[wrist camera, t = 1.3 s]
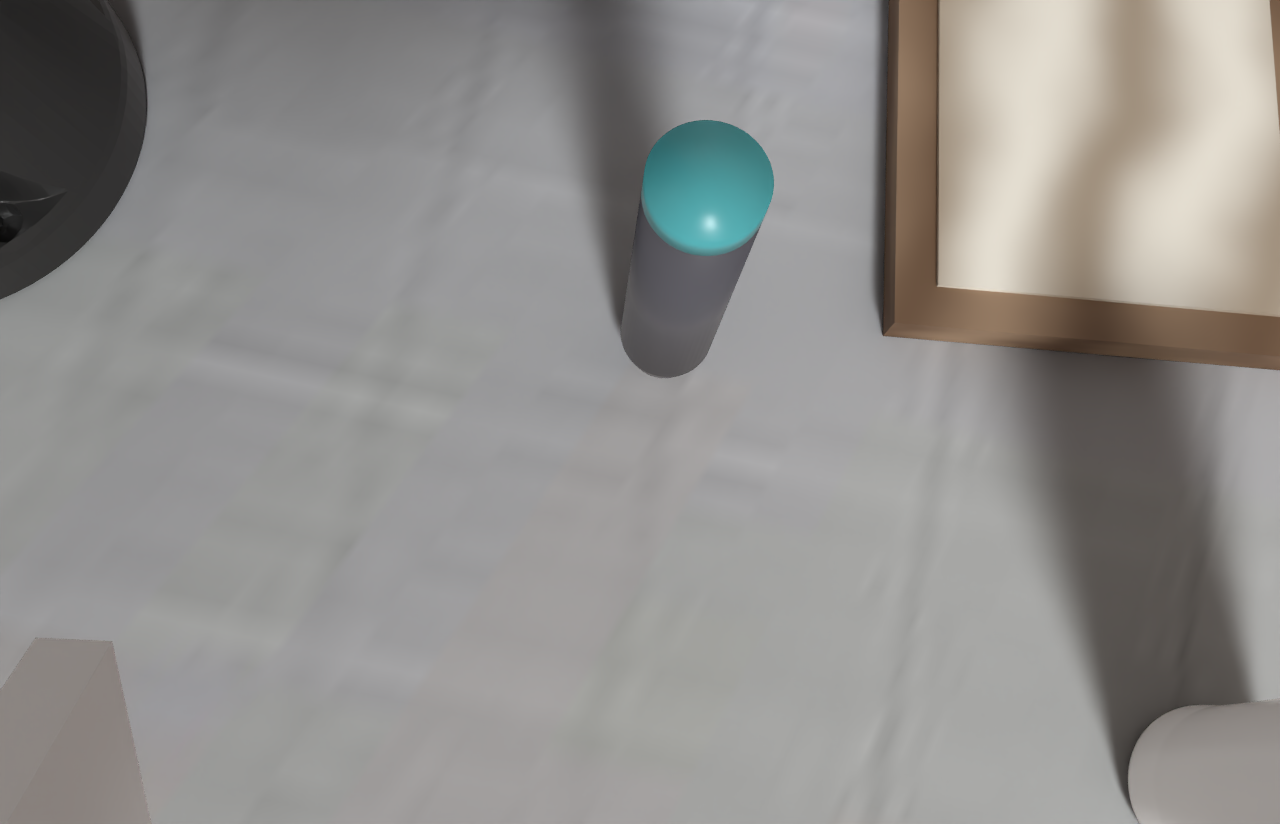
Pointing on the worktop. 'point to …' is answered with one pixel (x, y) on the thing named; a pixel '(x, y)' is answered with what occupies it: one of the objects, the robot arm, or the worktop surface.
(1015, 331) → the writing board
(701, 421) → the worktop surface
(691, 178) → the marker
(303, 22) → the worktop surface
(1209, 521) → the worktop surface
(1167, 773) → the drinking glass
